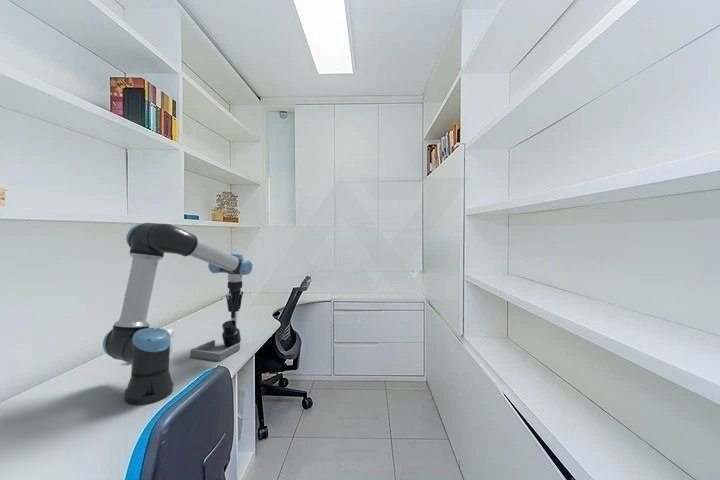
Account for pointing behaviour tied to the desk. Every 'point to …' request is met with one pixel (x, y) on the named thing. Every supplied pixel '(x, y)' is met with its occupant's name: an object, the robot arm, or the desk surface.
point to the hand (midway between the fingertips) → (234, 323)
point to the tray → (213, 351)
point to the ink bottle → (230, 333)
